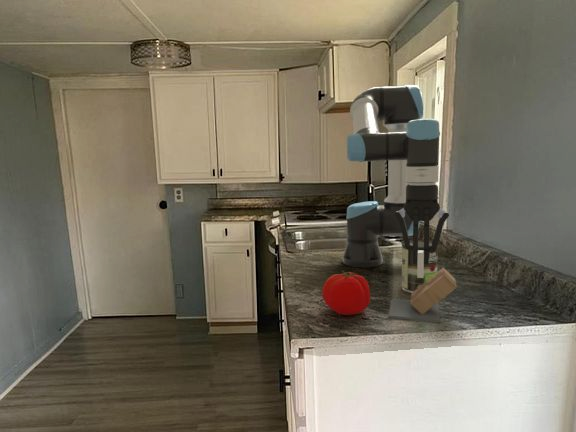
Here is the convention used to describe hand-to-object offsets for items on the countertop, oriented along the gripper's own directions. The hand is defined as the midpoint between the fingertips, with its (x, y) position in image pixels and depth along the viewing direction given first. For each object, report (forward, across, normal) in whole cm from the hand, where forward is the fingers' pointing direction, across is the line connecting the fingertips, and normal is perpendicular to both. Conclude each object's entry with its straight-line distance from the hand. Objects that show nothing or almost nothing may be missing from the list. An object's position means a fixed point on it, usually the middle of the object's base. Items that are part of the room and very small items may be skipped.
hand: (420, 276), depth 96 cm
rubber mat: (+10, -1, 0) cm, 10 cm away
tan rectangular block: (+8, -1, 0) cm, 8 cm away
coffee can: (+10, 0, +18) cm, 21 cm away
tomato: (+10, -18, -5) cm, 21 cm away
